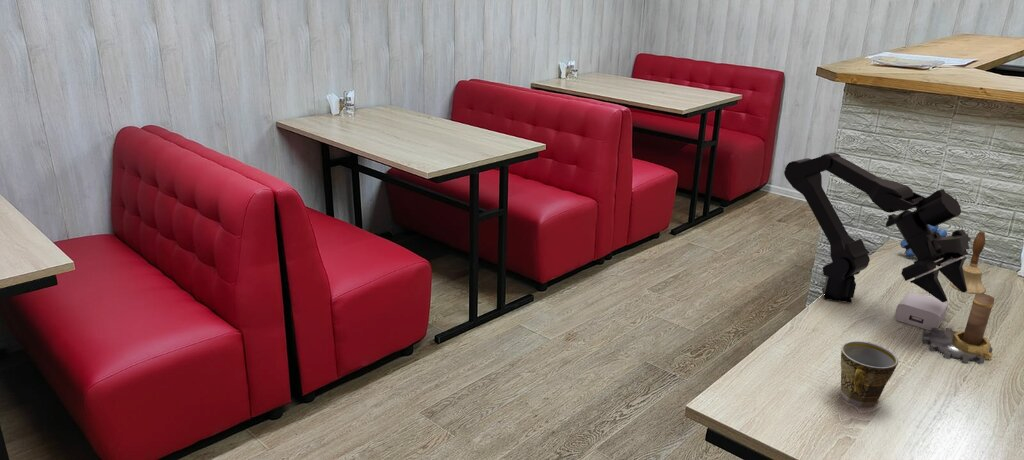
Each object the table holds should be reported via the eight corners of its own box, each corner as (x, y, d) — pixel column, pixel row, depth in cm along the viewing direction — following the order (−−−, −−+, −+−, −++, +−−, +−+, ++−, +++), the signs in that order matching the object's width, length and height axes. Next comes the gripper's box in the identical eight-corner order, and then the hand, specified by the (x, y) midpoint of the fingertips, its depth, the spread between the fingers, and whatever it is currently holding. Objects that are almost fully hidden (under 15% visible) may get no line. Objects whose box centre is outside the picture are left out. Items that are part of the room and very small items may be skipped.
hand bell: (954, 291, 189) (969, 235, 183) (946, 278, 196) (961, 224, 190) (989, 296, 186) (1006, 239, 181) (980, 283, 194) (996, 228, 188)
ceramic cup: (840, 377, 148) (850, 335, 144) (892, 396, 142) (903, 352, 139) (820, 405, 139) (830, 361, 135) (875, 426, 133) (887, 381, 129)
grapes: (944, 260, 208) (954, 222, 203) (940, 268, 203) (951, 229, 198) (900, 250, 214) (909, 213, 210) (895, 257, 209) (905, 219, 205)
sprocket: (929, 357, 157) (933, 344, 155) (915, 328, 169) (918, 316, 168) (1000, 368, 153) (1004, 355, 152) (980, 337, 165) (984, 325, 164)
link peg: (967, 351, 157) (982, 301, 152) (956, 342, 160) (970, 293, 156) (983, 351, 157) (999, 301, 153) (972, 342, 161) (986, 293, 156)
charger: (949, 311, 178) (935, 333, 168) (909, 299, 184) (893, 320, 173) (954, 294, 176) (940, 315, 166) (913, 283, 182) (898, 302, 171)
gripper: (928, 227, 152) (969, 293, 148) (969, 212, 162) (1009, 273, 158) (884, 248, 161) (922, 311, 157) (926, 233, 171) (962, 291, 167)
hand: (955, 296), depth 159 cm, fingers open, 9 cm apart
